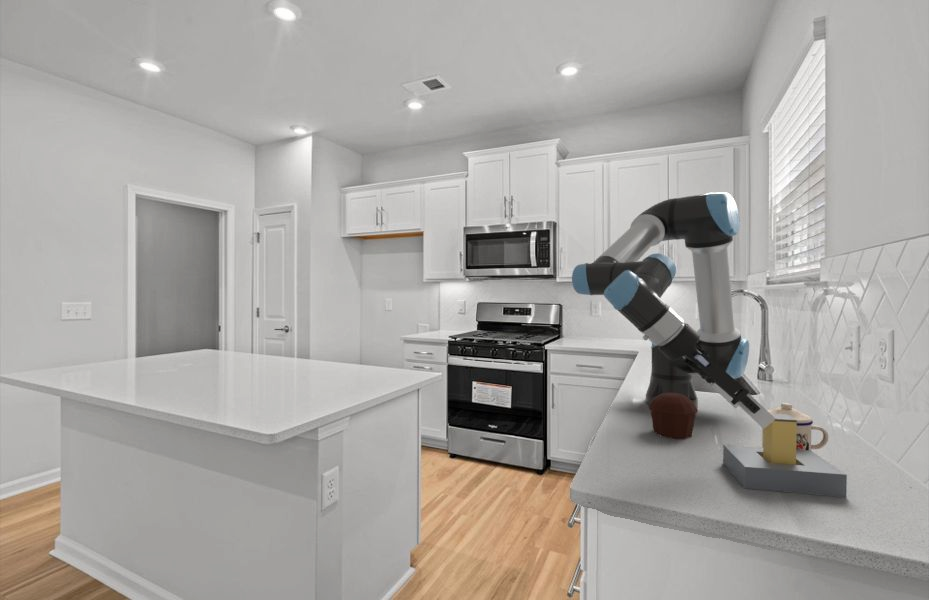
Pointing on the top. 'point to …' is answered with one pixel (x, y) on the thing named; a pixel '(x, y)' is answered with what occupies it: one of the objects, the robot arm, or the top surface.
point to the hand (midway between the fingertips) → (753, 412)
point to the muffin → (673, 415)
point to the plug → (780, 440)
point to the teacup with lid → (801, 427)
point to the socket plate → (784, 472)
